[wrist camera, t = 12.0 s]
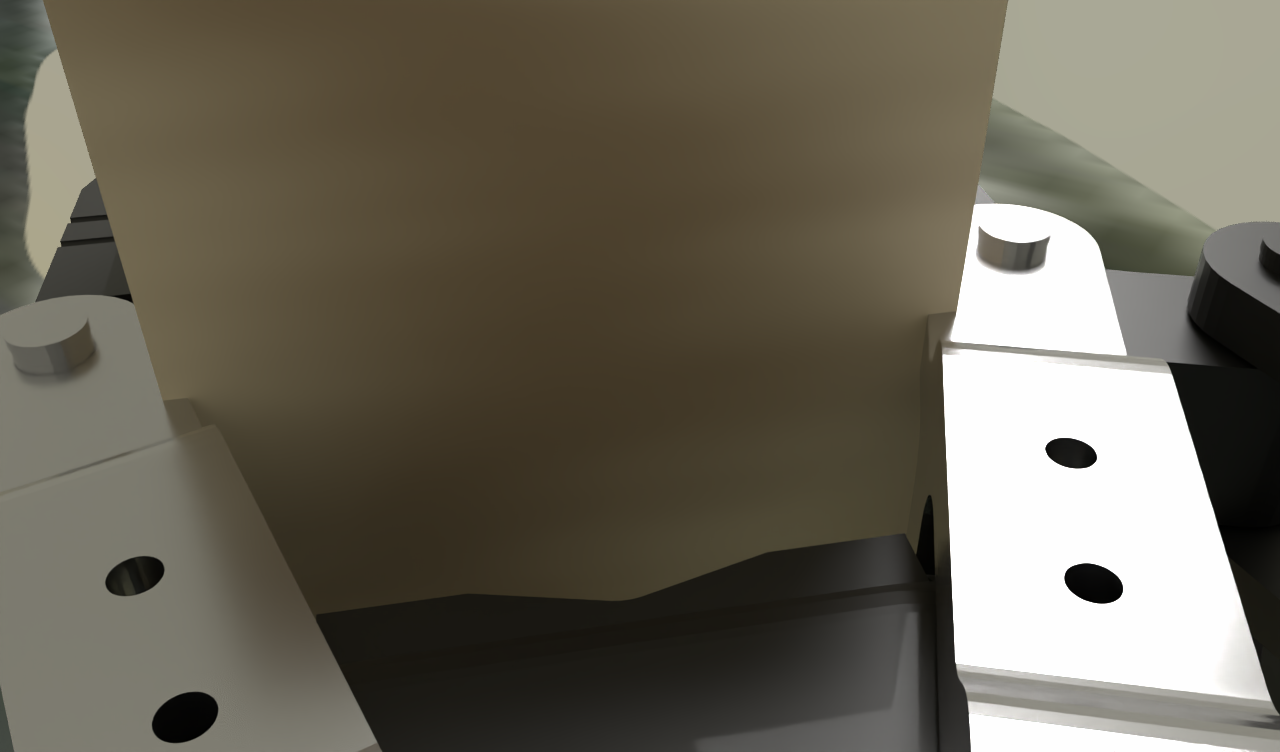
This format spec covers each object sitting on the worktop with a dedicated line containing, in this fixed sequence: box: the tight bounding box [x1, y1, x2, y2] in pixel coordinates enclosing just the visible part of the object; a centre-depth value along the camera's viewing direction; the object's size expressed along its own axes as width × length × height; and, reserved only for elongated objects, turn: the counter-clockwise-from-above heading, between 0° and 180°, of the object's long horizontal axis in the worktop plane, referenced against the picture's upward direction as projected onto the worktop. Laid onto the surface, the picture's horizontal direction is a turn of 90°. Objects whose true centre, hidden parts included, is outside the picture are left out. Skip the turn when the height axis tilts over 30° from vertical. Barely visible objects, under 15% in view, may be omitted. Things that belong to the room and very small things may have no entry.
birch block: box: [43, 0, 1008, 620], centre depth 11 cm, size 5×5×12 cm
